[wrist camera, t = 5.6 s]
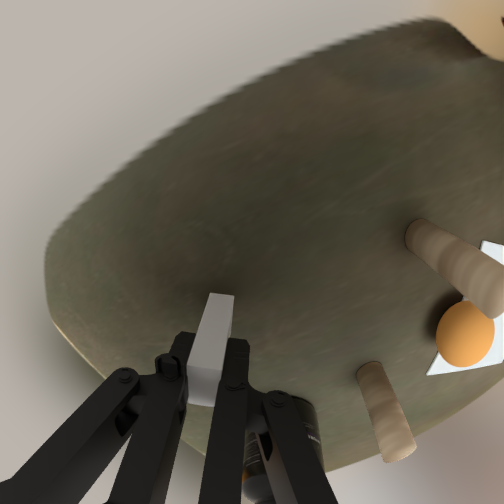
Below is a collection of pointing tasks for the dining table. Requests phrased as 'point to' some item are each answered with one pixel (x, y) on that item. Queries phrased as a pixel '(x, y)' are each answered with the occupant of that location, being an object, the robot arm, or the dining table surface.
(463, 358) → the ball
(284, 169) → the dining table surface
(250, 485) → the supplement bottle
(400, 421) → the post
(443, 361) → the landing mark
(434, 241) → the post
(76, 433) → the robot arm
